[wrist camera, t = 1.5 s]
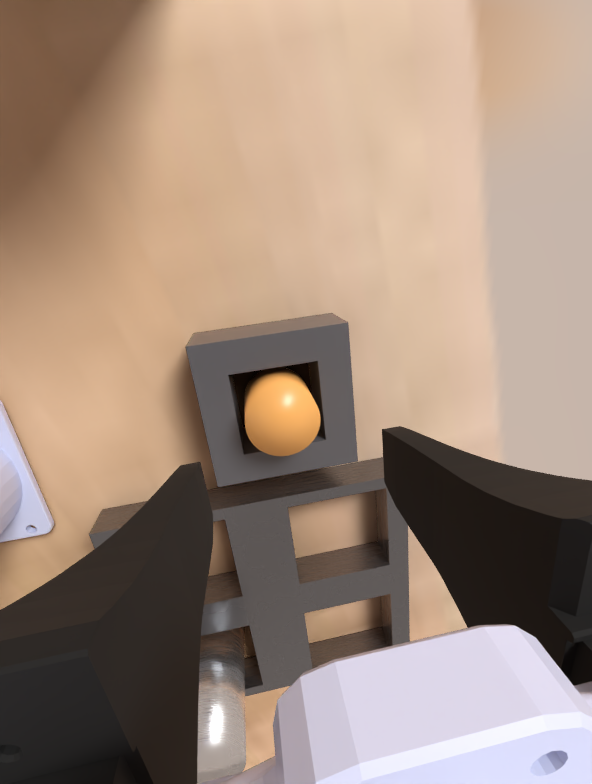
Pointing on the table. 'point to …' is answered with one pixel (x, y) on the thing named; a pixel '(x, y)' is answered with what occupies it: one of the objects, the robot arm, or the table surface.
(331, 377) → the button housing
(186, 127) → the table surface
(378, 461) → the frame
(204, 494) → the robot arm
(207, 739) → the cylinder
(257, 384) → the button
